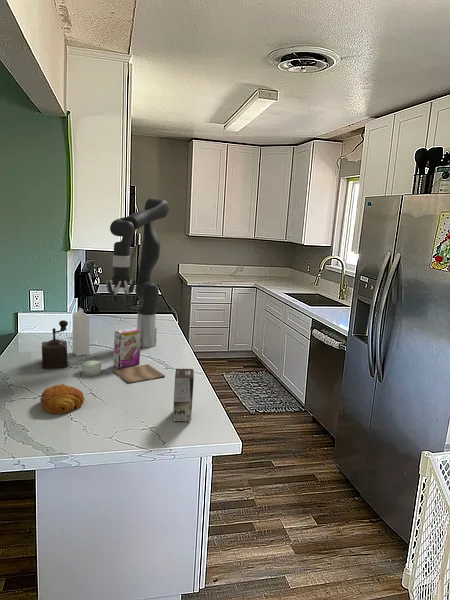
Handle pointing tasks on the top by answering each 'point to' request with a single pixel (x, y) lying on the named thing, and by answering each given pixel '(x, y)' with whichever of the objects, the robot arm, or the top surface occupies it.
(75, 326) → the milk
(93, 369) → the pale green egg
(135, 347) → the candy bar box
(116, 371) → the display board
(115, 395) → the top surface
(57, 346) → the coffee grinder
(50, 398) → the croissant
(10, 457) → the top surface
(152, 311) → the robot arm
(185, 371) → the coffee box
